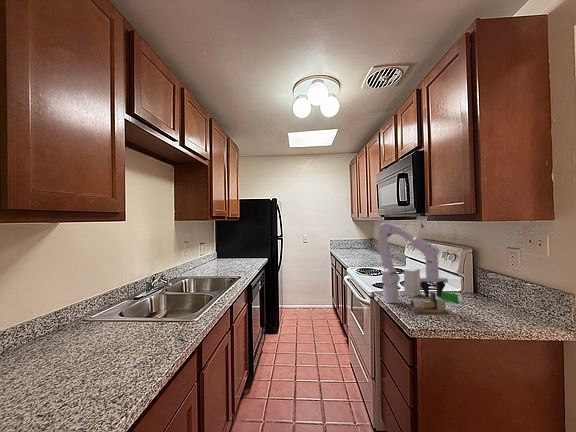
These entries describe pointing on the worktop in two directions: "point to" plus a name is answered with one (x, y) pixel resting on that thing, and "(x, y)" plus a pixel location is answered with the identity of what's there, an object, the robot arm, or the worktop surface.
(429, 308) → the walnut board
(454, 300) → the green block
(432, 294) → the light wooden block
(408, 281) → the skincare box
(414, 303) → the white cardboard cube
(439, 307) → the socket block
